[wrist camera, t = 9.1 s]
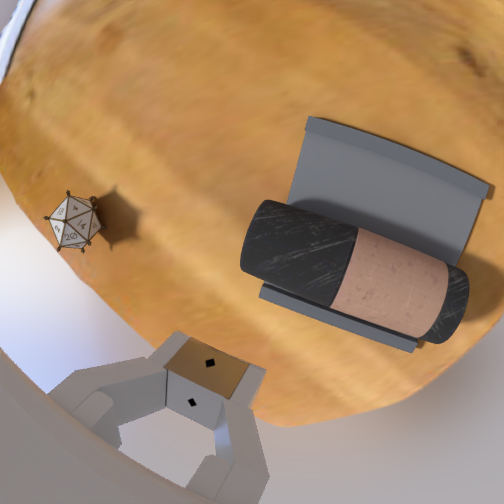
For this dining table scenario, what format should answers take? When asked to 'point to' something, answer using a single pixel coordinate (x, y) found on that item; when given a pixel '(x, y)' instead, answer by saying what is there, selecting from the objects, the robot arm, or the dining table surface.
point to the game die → (75, 222)
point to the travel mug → (355, 271)
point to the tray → (379, 207)
